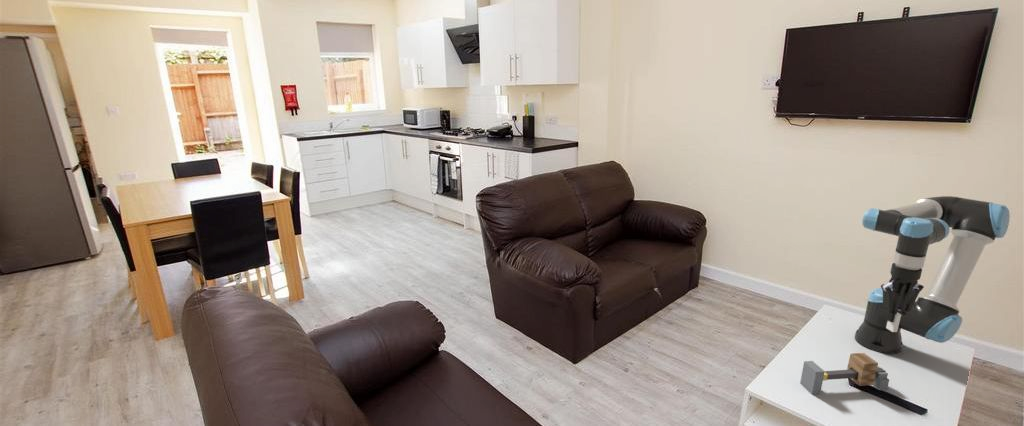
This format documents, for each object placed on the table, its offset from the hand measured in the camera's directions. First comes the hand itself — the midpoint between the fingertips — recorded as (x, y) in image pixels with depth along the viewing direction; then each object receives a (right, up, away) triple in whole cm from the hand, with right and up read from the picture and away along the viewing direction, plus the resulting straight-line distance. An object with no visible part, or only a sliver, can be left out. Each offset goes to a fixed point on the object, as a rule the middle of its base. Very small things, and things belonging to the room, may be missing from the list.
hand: (891, 329), depth 155 cm
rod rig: (-12, -21, +6) cm, 25 cm away
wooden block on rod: (-7, -19, +5) cm, 21 cm away
